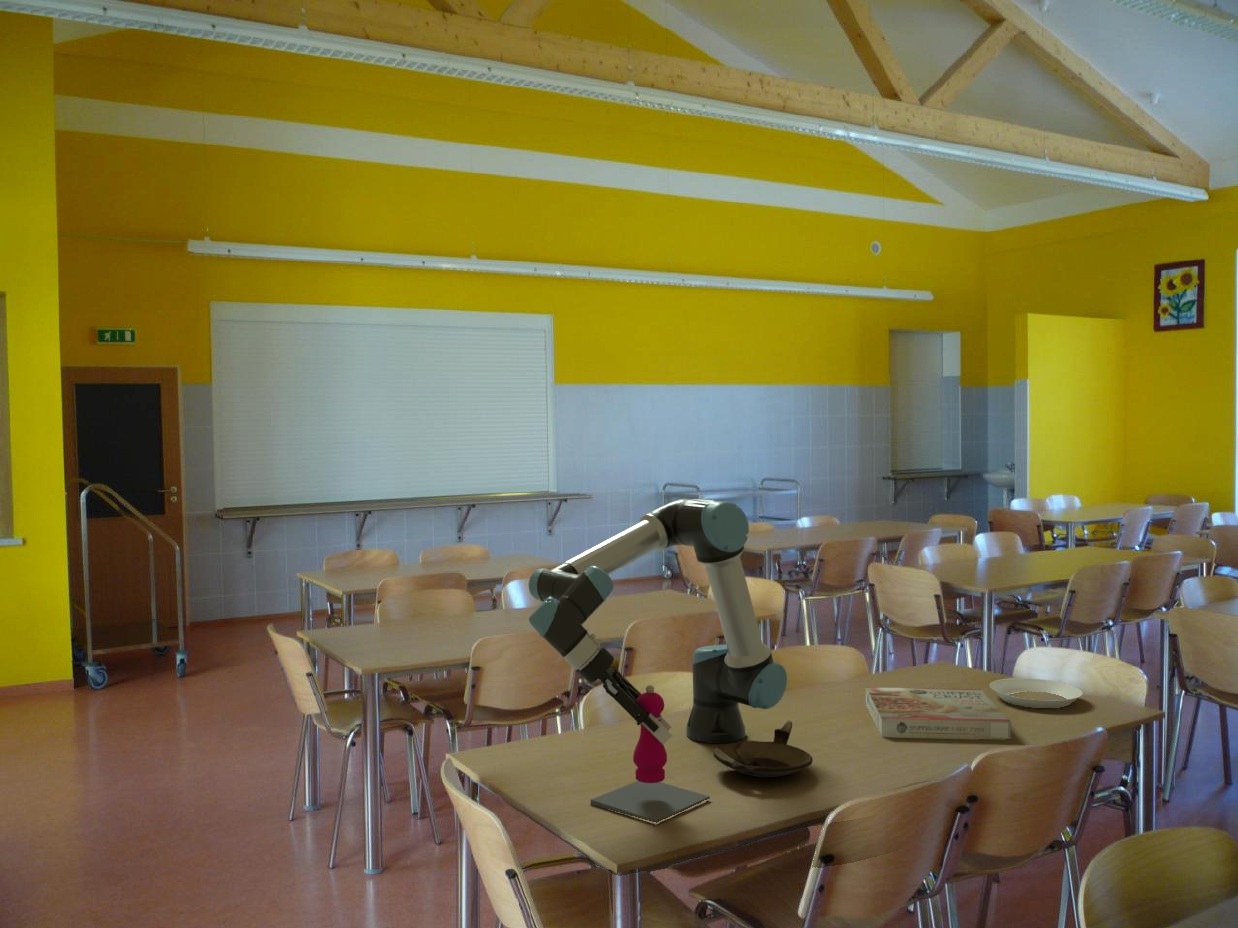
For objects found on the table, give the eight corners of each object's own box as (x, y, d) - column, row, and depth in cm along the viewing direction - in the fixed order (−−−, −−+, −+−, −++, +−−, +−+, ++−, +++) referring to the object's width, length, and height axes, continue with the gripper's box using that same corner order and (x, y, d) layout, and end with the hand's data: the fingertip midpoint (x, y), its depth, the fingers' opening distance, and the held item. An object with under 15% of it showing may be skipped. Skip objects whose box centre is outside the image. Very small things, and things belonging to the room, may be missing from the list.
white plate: (971, 693, 314) (971, 681, 313) (1042, 687, 321) (1042, 675, 321) (1027, 716, 290) (1028, 703, 290) (1102, 708, 297) (1102, 695, 297)
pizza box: (881, 718, 271) (865, 686, 303) (881, 739, 271) (865, 705, 303) (1011, 721, 268) (980, 689, 299) (1010, 742, 268) (980, 707, 300)
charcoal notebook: (590, 804, 225) (590, 799, 225) (645, 782, 238) (645, 777, 238) (656, 825, 213) (656, 820, 213) (709, 800, 226) (709, 796, 226)
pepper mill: (638, 785, 221) (638, 690, 220) (629, 774, 228) (628, 682, 227) (671, 782, 223) (671, 688, 222) (661, 771, 230) (661, 680, 229)
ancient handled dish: (690, 773, 244) (690, 740, 244) (776, 746, 264) (776, 716, 264) (764, 799, 227) (764, 764, 227) (849, 768, 247) (850, 736, 247)
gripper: (600, 655, 215) (681, 735, 215) (603, 637, 234) (678, 710, 234) (574, 681, 215) (655, 761, 216) (580, 660, 234) (654, 734, 234)
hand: (667, 735), depth 225 cm, fingers closed on pepper mill, 5 cm apart
